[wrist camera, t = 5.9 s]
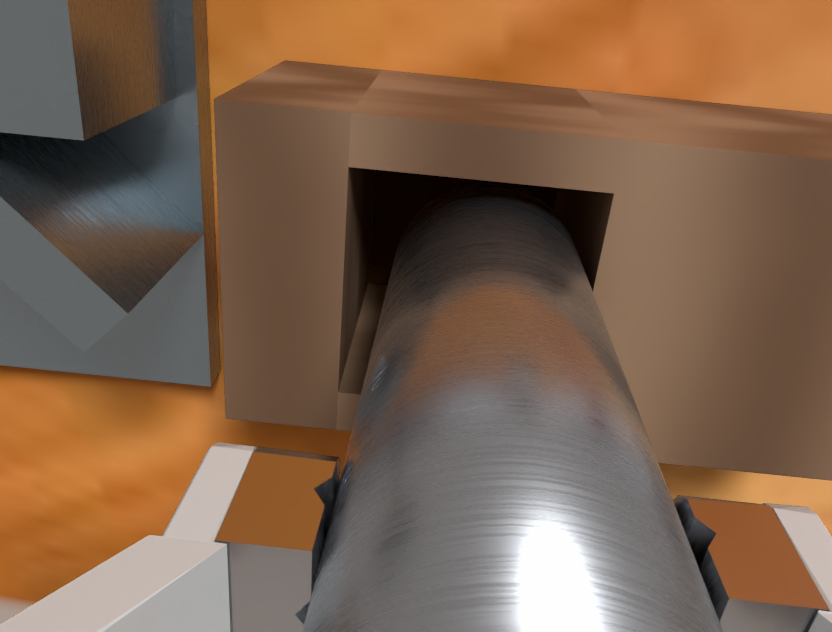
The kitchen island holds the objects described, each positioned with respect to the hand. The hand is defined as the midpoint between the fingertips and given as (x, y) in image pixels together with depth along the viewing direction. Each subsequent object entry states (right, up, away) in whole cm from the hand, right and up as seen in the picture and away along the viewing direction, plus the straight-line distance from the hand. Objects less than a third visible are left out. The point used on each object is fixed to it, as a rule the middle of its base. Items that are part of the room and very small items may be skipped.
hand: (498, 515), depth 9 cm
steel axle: (+1, +3, +7) cm, 8 cm away
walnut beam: (+3, +5, +11) cm, 13 cm away
